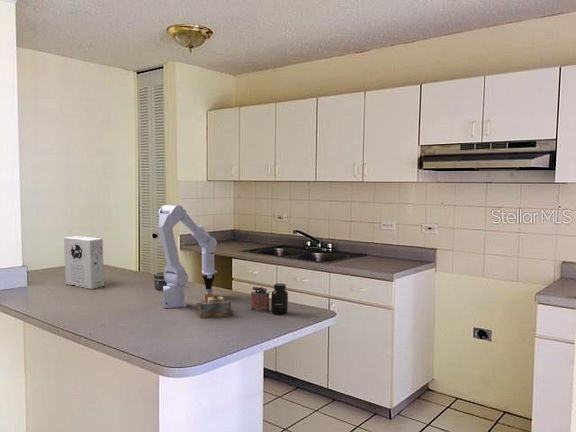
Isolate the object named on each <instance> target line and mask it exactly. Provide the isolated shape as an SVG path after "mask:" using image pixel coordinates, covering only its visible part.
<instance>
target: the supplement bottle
mask: <svg viewBox="0 0 576 432" xmlns="http://www.w3.org/2000/svg"><path fill="white" fill-rule="evenodd" d="M286 286H287V285H286V283H280V282H279V283H274V284H273V290H272V292H271V297H270V298H271V300H270V301H271V305H270V306H271V310H270V311H271V314H273V315H276V316H283V315H287V313H288V312H289V310H288V309H289V304H288V303H289V292H288V291H287V288H286Z"/></svg>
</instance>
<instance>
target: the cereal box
mask: <svg viewBox="0 0 576 432" xmlns="http://www.w3.org/2000/svg"><path fill="white" fill-rule="evenodd" d="M103 242H104V241H103V238H99V237H91V236H89V237H88V236H80V235H75V236H64V237H63V244H64V246H63V247H64V271H65V272H64V273H65V274H64V275H65V284H66V283H67V284H71V285H76V286H81V287H86V288H91V289H92V288H97V287H101V288H103V287H102V286H104V287H105V278H104V277H105V276H104V272H105V271H104V246H103V245H104V243H103ZM76 286H75V287H76ZM81 287H80V288H81ZM86 288H85V289H86ZM91 289H90V290H91ZM97 289H98V288H97ZM92 290H93V289H92Z"/></svg>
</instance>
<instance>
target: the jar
mask: <svg viewBox="0 0 576 432" xmlns="http://www.w3.org/2000/svg"><path fill="white" fill-rule="evenodd" d="M153 282H154V283H153V285H154V289H155V290H156V289H157V290H156V291H160V290H163V286H168V285H167V282H166V281H165V280H164V271H163V272H157V273H154V274H153Z"/></svg>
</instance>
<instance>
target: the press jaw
mask: <svg viewBox="0 0 576 432" xmlns="http://www.w3.org/2000/svg"><path fill="white" fill-rule="evenodd" d="M205 293H206V294H204V296H205V303H208V297H214V295H217V297H220V293H215V291H214V289H213V288H211V289H206V288H205Z"/></svg>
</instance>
